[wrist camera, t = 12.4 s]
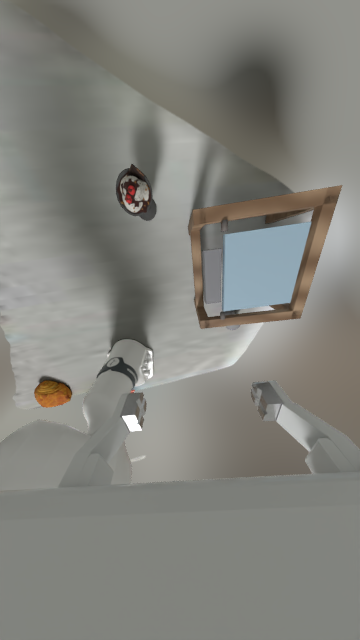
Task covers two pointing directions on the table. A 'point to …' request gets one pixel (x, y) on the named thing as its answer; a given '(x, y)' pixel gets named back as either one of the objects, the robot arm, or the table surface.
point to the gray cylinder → (232, 325)
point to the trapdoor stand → (274, 211)
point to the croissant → (52, 394)
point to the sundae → (135, 193)
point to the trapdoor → (255, 267)
